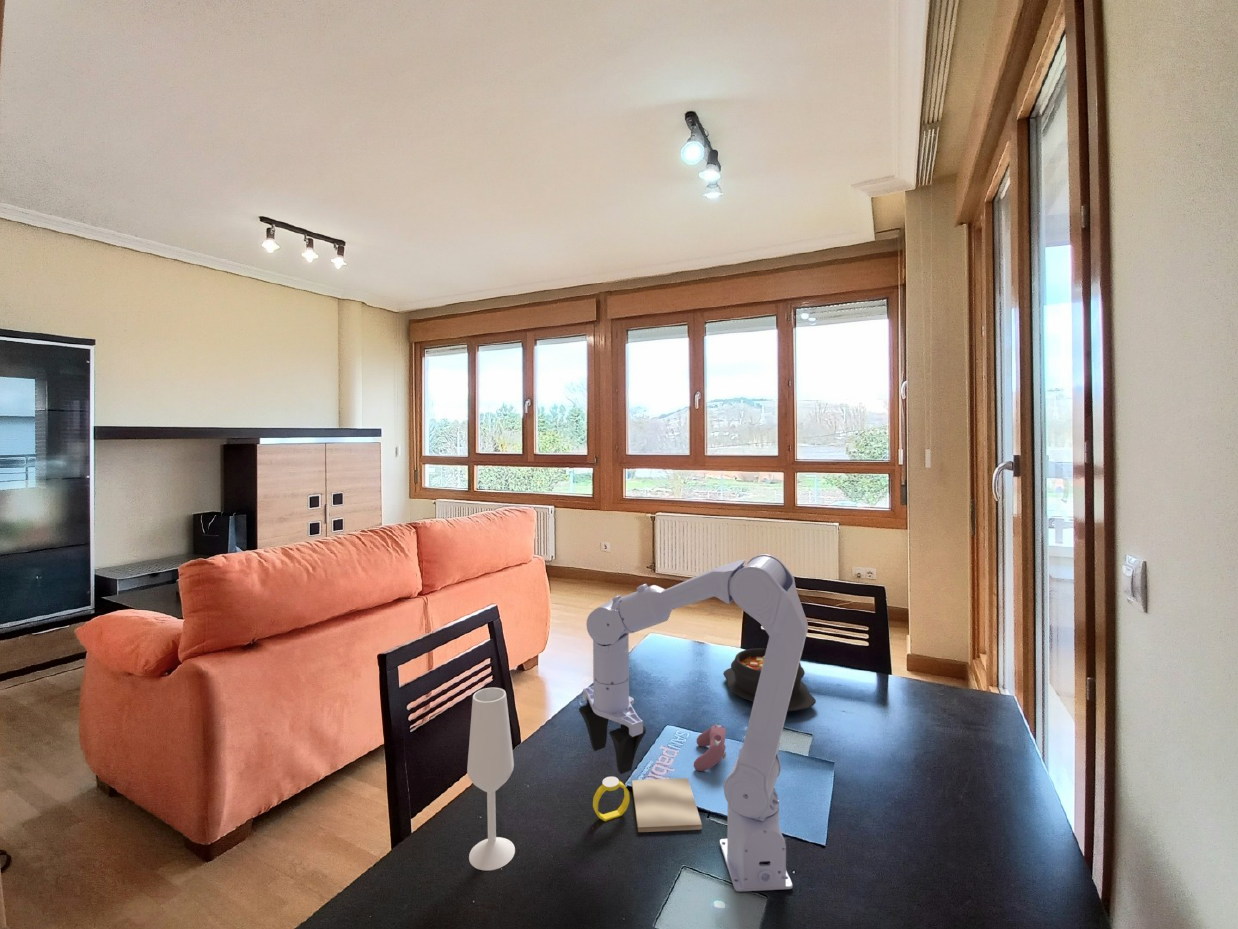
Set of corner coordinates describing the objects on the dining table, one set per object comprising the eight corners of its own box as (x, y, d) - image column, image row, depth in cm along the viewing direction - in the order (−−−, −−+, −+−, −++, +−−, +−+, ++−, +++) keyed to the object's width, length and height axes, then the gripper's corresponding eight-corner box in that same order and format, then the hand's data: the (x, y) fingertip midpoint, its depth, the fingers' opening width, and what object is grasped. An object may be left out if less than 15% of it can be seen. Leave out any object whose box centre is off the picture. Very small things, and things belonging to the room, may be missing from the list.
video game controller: (713, 783, 102) (731, 751, 102) (691, 769, 103) (708, 738, 102) (715, 753, 112) (731, 724, 111) (694, 740, 113) (710, 712, 112)
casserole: (835, 710, 126) (836, 673, 126) (767, 726, 119) (768, 688, 119) (766, 667, 149) (766, 636, 149) (705, 679, 142) (705, 647, 142)
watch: (598, 828, 89) (596, 793, 88) (592, 818, 91) (589, 783, 91) (632, 815, 91) (630, 780, 91) (625, 805, 94) (622, 771, 93)
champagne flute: (524, 853, 83) (521, 695, 82) (483, 878, 79) (480, 710, 77) (499, 830, 88) (497, 680, 87) (460, 852, 83) (457, 694, 82)
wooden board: (701, 829, 88) (701, 824, 88) (638, 832, 88) (638, 827, 87) (688, 782, 100) (688, 778, 100) (632, 784, 99) (632, 780, 99)
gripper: (658, 687, 86) (658, 773, 87) (607, 656, 98) (607, 732, 99) (620, 699, 82) (621, 789, 83) (572, 666, 94) (572, 745, 95)
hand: (611, 759), depth 91 cm, fingers open, 7 cm apart
